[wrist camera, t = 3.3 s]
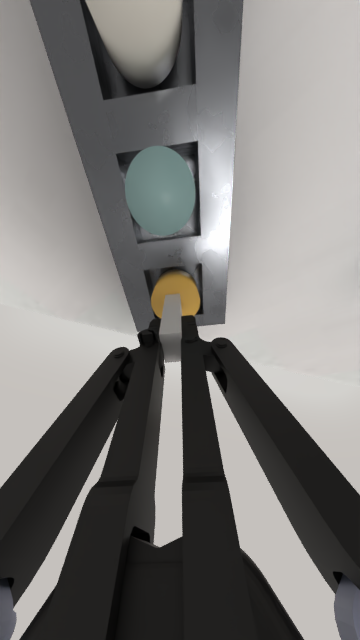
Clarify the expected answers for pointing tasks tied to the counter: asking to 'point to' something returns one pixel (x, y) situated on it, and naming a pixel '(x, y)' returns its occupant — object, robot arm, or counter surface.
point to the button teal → (160, 190)
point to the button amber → (176, 292)
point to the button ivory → (140, 36)
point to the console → (155, 141)
